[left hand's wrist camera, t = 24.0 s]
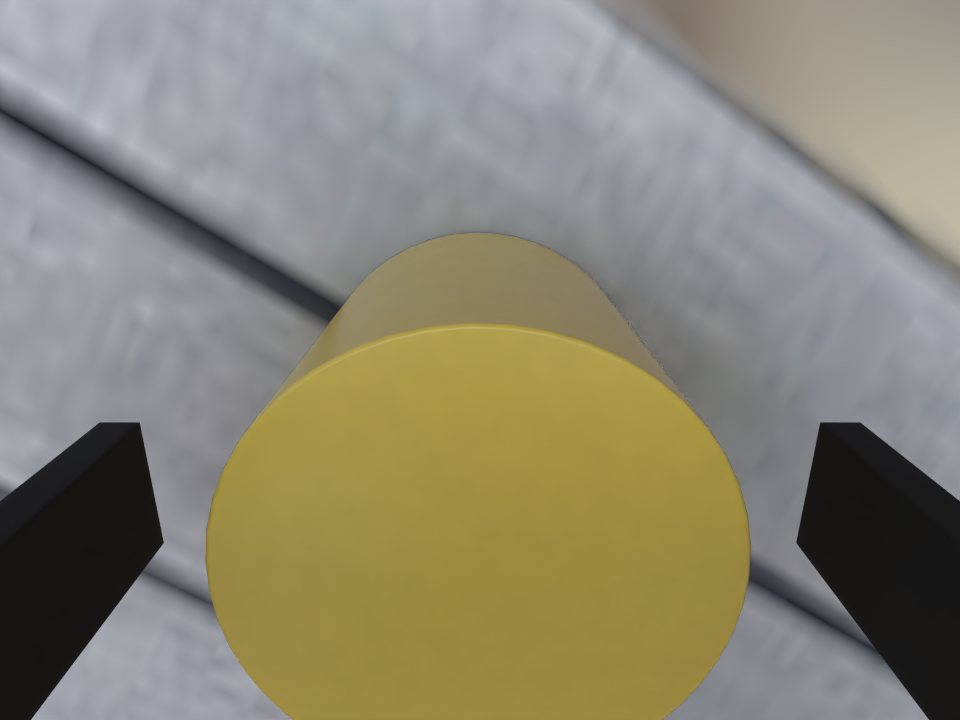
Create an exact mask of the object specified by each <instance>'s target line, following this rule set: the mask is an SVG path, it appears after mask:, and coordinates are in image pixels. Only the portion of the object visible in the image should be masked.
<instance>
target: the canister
mask: <svg viewBox="0 0 960 720" xmlns="http://www.w3.org/2000/svg"><path fill="white" fill-rule="evenodd" d="M750 549H751V542H750V533H749V524H748V515H747V510H746V507H745V503H744V500H743V496H742V492H741V489H740V485H739V482H738V480H737V478H736V476H735V473H734V471H733V469H732V467H731V465H730V462H729V460H728V458H727V456H726V454H725V452H724V451H723V449H722V448H721V446H720V445H719V443H718V442H717V440H716V438H715V437H714V435H713V434H712V432H711V431H710V429H709V428H708V426H707V425H706V424H705V422H704V421H703V420H702V419H701V417H700V416H699V415H698V413H697V412H696V411H695V409H694V408H693V407H692V406H691V404H690V403H689V402H688V400H687V399H686V398H685V397H684V395H683V394H682V393H681V391H680V390H679V389H678V388H677V386H676V385H675V384H674V382H673V381H672V380H671V379H670V377H669V376H668V375H667V373H666V372H665V371H664V370H663V368H662V367H661V366H660V364H659V363H658V362H657V361H656V359H655V358H654V357H653V355H652V354H651V353H650V352H649V350H648V349H647V348H646V346H645V345H644V344H643V343H642V341H641V340H640V339H639V337H638V336H637V335H636V334H635V332H634V331H633V330H632V328H631V327H630V326H629V325H628V323H627V322H626V321H625V319H624V318H623V317H622V315H621V314H620V313H619V312H618V310H617V309H616V308H615V306H614V305H613V304H612V303H611V301H610V300H609V299H608V297H607V296H606V295H605V294H604V292H603V291H602V290H601V289H600V288H599V287H598V286H597V284H596V283H595V282H594V281H593V280H592V279H591V278H590V277H589V276H588V275H587V274H586V273H585V272H583V271H582V270H581V269H580V268H579V267H578V266H576V265H575V264H574V263H572V262H571V261H569V260H568V259H566V258H565V257H563V256H561V255H560V254H558V253H557V252H555V251H553V250H550V249H548V248H546V247H544V246H542V245H540V244H537V243H535V242H531V241H528V240H525V239H522V238H518V237H514V236H508V235H502V234H496V233H463V234H452V235H447V236H443V237H439V238H435V239H430V240H428V241H425V242H422V243H420V244H417V245H414V246H412V247H409V248H408V249H406V250H404V251H402V252H400V253H398V254H397V255H395V256H393V257H391V258H390V259H388V260H387V261H386V262H384V263H383V264H382V265H380V266H379V267H377V268H376V269H375V270H374V271H373V272H372V273H370V274H369V275H368V276H367V277H366V278H365V279H364V280H363V281H362V282H361V283H360V284H359V285H358V287H357V288H356V289H355V291H354V292H353V293H352V295H351V296H350V297H349V298H348V300H347V301H346V302H345V304H344V305H343V306H342V307H341V309H340V310H339V311H338V313H337V314H336V315H335V317H334V318H333V319H332V320H331V322H330V323H329V324H328V326H327V327H326V328H325V329H324V331H323V332H322V333H321V335H320V336H319V337H318V339H317V340H316V341H315V342H314V344H313V345H312V346H311V348H310V349H309V350H308V351H307V353H306V354H305V355H304V357H303V358H302V359H301V361H300V362H299V363H298V364H297V366H296V367H295V368H294V370H293V371H292V372H291V374H290V375H289V376H288V377H287V379H286V380H285V381H284V383H283V384H282V385H281V386H280V388H279V389H278V390H277V392H276V393H275V394H274V396H273V397H272V398H271V399H270V401H269V402H268V403H267V405H266V406H265V407H264V408H263V410H262V411H261V412H260V414H259V415H258V416H257V418H256V419H255V420H254V421H253V423H252V424H251V425H250V427H249V428H248V429H247V431H246V432H245V433H244V434H243V436H242V437H241V438H240V440H239V441H238V443H237V445H236V447H235V449H234V450H233V452H232V454H231V456H230V458H229V459H228V461H227V463H226V465H225V467H224V468H223V471H222V474H221V476H220V479H219V482H218V485H217V487H216V490H215V493H214V496H213V498H212V503H211V508H210V514H209V519H208V524H207V529H206V568H207V576H208V584H209V592H210V595H211V599H212V602H213V606H214V609H215V613H216V616H217V619H218V622H219V624H220V626H221V628H222V631H223V633H224V635H225V637H226V639H227V642H228V644H229V646H230V648H231V649H232V651H233V652H234V654H235V656H236V657H237V659H238V660H239V662H240V663H241V665H242V667H243V668H244V670H245V671H246V673H247V674H248V675H249V676H250V677H251V679H252V680H253V681H254V682H255V683H256V684H257V686H258V687H259V688H260V689H261V690H262V692H263V693H264V694H265V695H266V696H267V697H268V698H269V699H270V700H271V701H273V702H274V703H275V704H276V705H277V706H278V707H279V708H280V709H281V710H282V711H283V712H284V713H285V714H286V715H288V716H289V717H291V718H292V719H293V720H662V719H664V718H665V717H666V716H667V715H668V714H670V713H671V712H672V711H673V710H674V709H676V708H677V707H678V706H679V705H680V704H682V703H683V701H684V700H685V699H686V698H687V697H688V696H689V695H690V694H691V693H692V692H693V691H694V690H695V689H696V688H697V687H698V686H699V685H700V684H701V682H702V681H703V680H704V678H705V677H706V676H707V674H708V673H709V672H710V670H711V669H712V667H713V666H714V665H715V663H716V662H717V661H718V659H719V658H720V656H721V654H722V652H723V650H724V648H725V647H726V645H727V643H728V641H729V639H730V637H731V635H732V634H733V631H734V629H735V626H736V623H737V620H738V618H739V615H740V612H741V610H742V607H743V603H744V599H745V594H746V589H747V584H748V579H749V569H750Z"/></svg>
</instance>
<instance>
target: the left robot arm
mask: <svg viewBox="0 0 960 720" xmlns="http://www.w3.org/2000/svg"><path fill="white" fill-rule="evenodd" d="M163 543H164V542H163V537H162V532H161V527H160V522H159V517H158V512H157V507H156V502H155V497H154V492H153V487H152V482H151V477H150V472H149V467H148V462H147V457H146V452H145V447H144V442H143V437H142V432H141V427H140V423H99V424H97V425H96V426H95V427H94V428H92V429H91V430H90V431H89V432H87V433H86V434H85V435H83V436H82V437H81V438H80V439H78V440H77V441H76V442H75V443H73V444H72V445H71V446H70V447H68V448H67V449H66V450H65V451H63V452H62V453H61V454H59V455H58V456H57V457H56V458H54V459H53V460H52V461H51V462H49V463H48V464H47V465H46V466H44V467H43V468H42V469H41V470H39V471H38V472H37V473H35V474H34V475H33V476H32V477H30V478H29V479H28V480H27V481H25V482H24V483H23V484H22V485H20V486H19V487H18V488H17V489H15V490H14V491H13V492H11V493H10V494H9V495H8V496H6V497H5V498H4V499H3V500H1V501H0V720H31V719H32V717H33V716H34V715H35V713H36V712H37V711H38V710H39V708H40V707H41V706H42V704H43V703H44V702H45V700H46V699H47V698H48V696H49V695H50V694H51V692H52V691H53V690H54V688H55V687H56V686H57V684H58V683H59V682H60V680H61V679H62V678H63V676H64V675H65V674H66V672H67V671H68V670H69V668H70V667H71V666H72V664H73V663H74V662H75V660H76V659H77V658H78V656H79V655H80V654H81V652H82V651H83V650H84V648H85V647H86V646H87V644H88V643H89V642H90V640H91V639H92V638H93V636H94V635H95V634H96V632H97V631H98V630H99V628H100V627H101V626H102V624H103V623H104V622H105V620H106V619H107V618H108V616H109V615H110V614H111V612H112V611H113V610H114V608H115V607H116V606H117V604H118V603H119V602H120V600H121V599H122V598H123V596H124V595H125V594H126V592H127V591H128V590H129V588H130V587H131V586H132V584H133V583H134V582H135V580H136V579H137V578H138V576H139V575H140V574H141V572H142V571H143V570H144V568H145V567H146V566H147V564H148V563H149V562H150V560H151V559H152V558H153V556H154V555H155V554H156V552H157V551H158V550H159V548H160V547H161V546H162V544H163ZM796 543H797V544H798V546H799V547H800V548H801V550H802V551H803V552H804V554H805V555H806V556H807V558H808V559H809V560H810V562H811V563H812V564H813V566H814V567H815V568H816V570H817V571H818V572H819V574H820V575H821V576H822V578H823V579H824V580H825V582H826V583H827V584H828V586H829V587H830V588H831V590H832V591H833V592H834V594H835V595H836V596H837V598H838V599H839V600H840V602H841V603H842V604H843V606H844V607H845V608H846V610H847V611H848V612H849V614H850V615H851V616H852V618H853V619H854V620H855V622H856V623H857V624H858V626H859V627H860V628H861V630H862V631H863V632H864V634H865V635H866V636H867V638H868V639H869V640H870V642H871V643H872V644H873V646H874V647H875V648H876V650H877V651H878V652H879V654H880V655H881V656H882V658H883V659H884V660H885V662H886V663H887V664H888V666H889V667H890V668H891V670H892V671H893V672H894V674H895V675H896V676H897V678H898V679H899V680H900V682H901V683H902V684H903V686H904V687H905V688H906V690H907V691H908V692H909V694H910V695H911V696H912V698H913V699H914V700H915V702H916V703H917V704H918V706H919V707H920V708H921V710H922V711H923V712H924V713H925V715H926V716H927V717H928V719H929V720H960V501H959V500H957V499H956V498H955V497H954V496H952V495H951V494H950V493H949V492H947V491H946V490H945V489H943V488H942V487H941V486H940V485H938V484H937V483H936V482H935V481H933V480H932V479H931V478H930V477H928V476H927V475H926V474H925V473H923V472H922V471H921V470H919V469H918V468H917V467H916V466H914V465H913V464H912V463H911V462H909V461H908V460H907V459H906V458H904V457H903V456H902V455H901V454H899V453H898V452H897V451H895V450H894V449H893V448H892V447H890V446H889V445H888V444H887V443H885V442H884V441H883V440H882V439H880V438H879V437H878V436H877V435H875V434H874V433H873V432H871V431H870V430H869V429H868V428H866V427H865V426H864V425H863V424H861V423H820V427H819V432H818V437H817V442H816V447H815V452H814V457H813V462H812V467H811V472H810V477H809V482H808V487H807V492H806V497H805V502H804V507H803V512H802V517H801V522H800V527H799V532H798V537H797V542H796Z"/></svg>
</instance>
